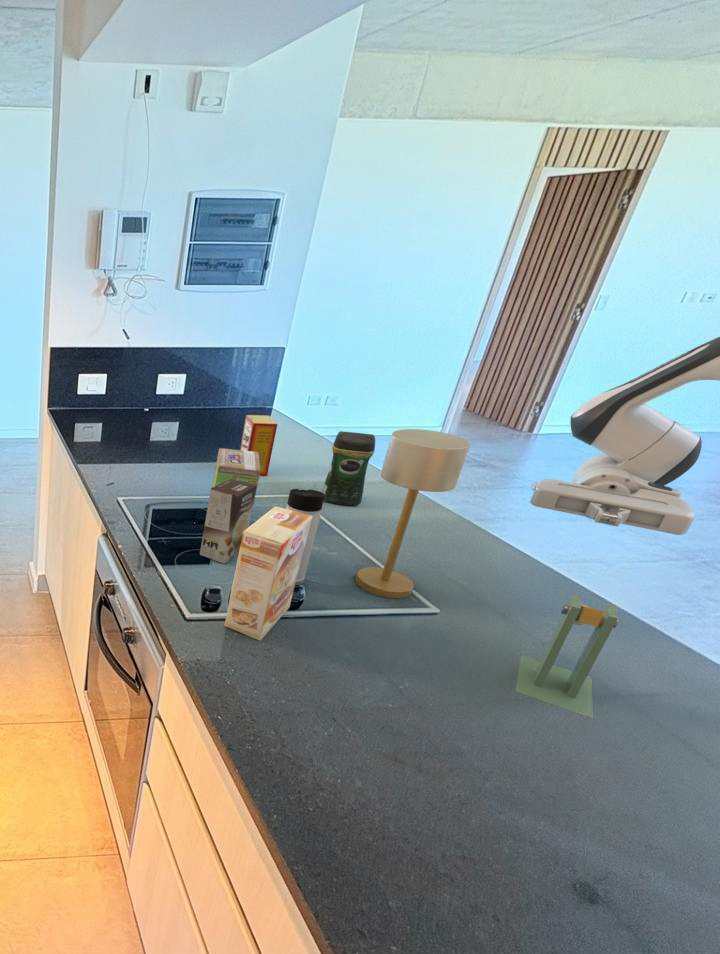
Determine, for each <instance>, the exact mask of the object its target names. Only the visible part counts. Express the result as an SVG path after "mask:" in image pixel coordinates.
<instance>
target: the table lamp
mask: <svg viewBox="0 0 720 954" xmlns="http://www.w3.org/2000/svg"><path fill="white" fill-rule="evenodd" d="M470 446H471V443H470V441H468V440H467V439H465V438H464V437H461V436H457V435H454V434H451V433H447V432H442V431H437V430H430V429H418V428H406V429H405V428H404V429H398V430H394V431H393V432H392V433H391V437H390V440H389V444H388V447H387V450H386V454H385V457H384V460H383V464H382V467H381V470H380V475H379V476H380V477H381V478H382V479H383V480H384V481H385V482H388V483H390V484H392V485H394V486H398V487H401V488H404V489H408V491H407V494H406V496H405V499H404V503H403V506H402V509H401V513H400V515H399V518H398V521H397V525H396V527H395V528H396V529H395V531H394V534H393V537H392V540H391V544H390V547H389V550H388V553H387V556H386V560H385V563H384V566H383V567H376V566H374V567H373V566H369V567H363V568H360V569H359V570H358V571H357V572H356V576H355V583H356V584H357V585H358V587H360V588H361V589H362V590H364V591H366V592H368V593H370V594H372V595H375V596H378V597H381V598H382V597H383V598H387V599H405V598H407V597H409V596H411V595H412V593H413V590H414V587H415V585H414V582H413V581H412V580H411V579H410V578H409V577H407V576H406V575H404V574H402V573H400V572H398V571H395V570H394V568H395V565H396V562H397V559H398V555H399V553H400V550H401V547H402V543H403V540H404V537H405V534H406V532H407V528H408V525H409V522H410V519H411V516H412V513H413V509H414V507H415V504H416V499H417V498H418V494H419V492H429V493H444V492H451V491H452V490H455V488H456V486H457V484H458V481H459V479H460V475H461V472H462V469H463V467H464V464H465V461H466V458H467V455H468V452H469V450H470Z"/></svg>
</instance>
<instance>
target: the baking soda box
mask: <svg viewBox="0 0 720 954" xmlns="http://www.w3.org/2000/svg"><path fill="white" fill-rule="evenodd" d="M277 429H278V423H277V422H276V421H275V420H274V419H273V418H272V417H271V416H270V415H269V414H267V415H266V414H265V415H264V414H245V419H244V425H243V431H242V437H241V443H240V449H239V450H242V451H252V452H258V453H259V461H260V477H268V473H269V467H270V463H271V458H272V453H273V449H274V443H275V438H276V433H277Z"/></svg>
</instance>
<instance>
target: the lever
mask: <svg viewBox="0 0 720 954" xmlns="http://www.w3.org/2000/svg"><path fill="white" fill-rule="evenodd" d="M603 613H604V610H601V609H597V608H593V607H590V606H589V605H587V604H585V603H582V602H581V609H580V611H579V613H578V615H577V617H576V619H575V621H574V623H573V625H574V626H583V625H589V626H591V627H598V625H599V623H600V620H601V618H602V615H603ZM573 625H572V626H573Z"/></svg>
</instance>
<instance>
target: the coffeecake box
mask: <svg viewBox="0 0 720 954" xmlns="http://www.w3.org/2000/svg"><path fill="white" fill-rule="evenodd" d="M312 518H313V516H310V515H307V514H303V513H300V512H296V511H292V510H288V509H286V507H281V506H277V505H275V506H274V507H272V508H270V510H269V511H267V512H266V513H265V514H263V515H262V516H261V517H260V518H258V519H257V520H256V521H254V522H253V523H252V524H250V525H249V527H248V528H247V529H246V530H244V531H243V536H242V541H241V546H240V550H239V555H237V561H236V566H235V571H234V576H233V581H232V584H231V585H232V586H231V589H230V590H231V591H230V596H229V600H228V606H227V610H226V616H225V620H224V628H225V627H226V628H228V629H231V630H232V631H236V632H238V633H240V634H243V635H245V636H247V637H248V638H249V637H250V638H252V639H255V640H257V641H262V640H263V638H264V637H265V636H266V635H267V634H268V633H269V632H270V631H271V629H272V628H273V627H275V625H276V624H277V622H278V621H279V620H280V619H281V618H282V617H283V616H284V614H285V613H286V612H287V611H288V610H289V609H290V607H291V603H292V599H293V595H294V591H295V587H296V586H295V583H296V579H297V575H298V571H299V567H300V563H301V559H302V555H303V551H304V548H305V544H306V540H307V536H308V532H309V528H310V524H311V521H312Z"/></svg>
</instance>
